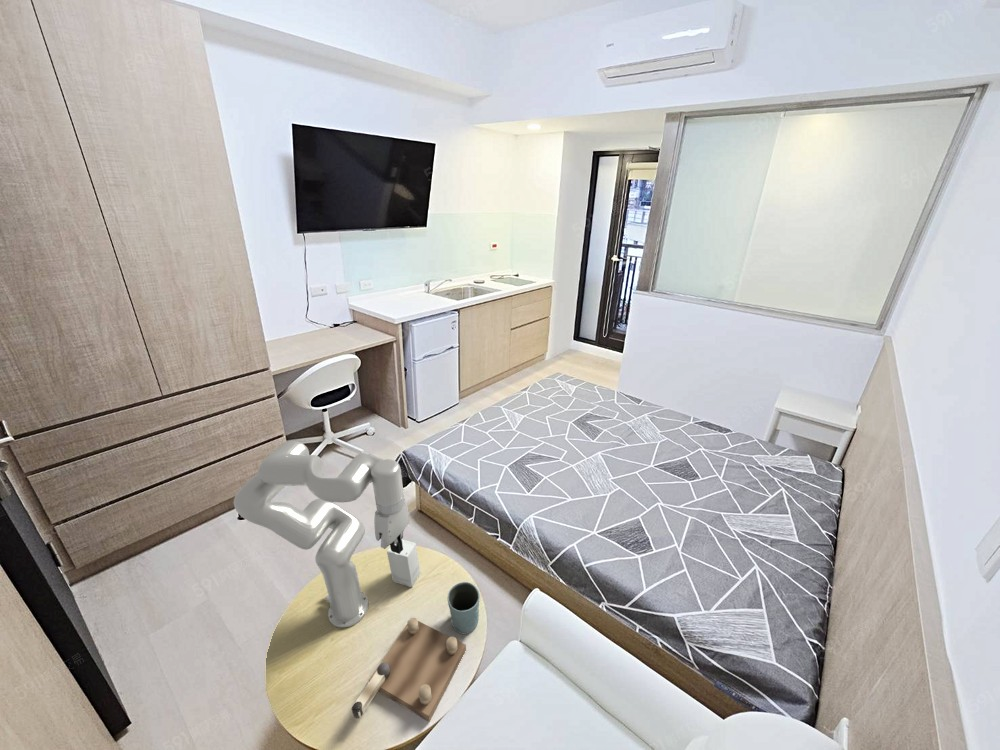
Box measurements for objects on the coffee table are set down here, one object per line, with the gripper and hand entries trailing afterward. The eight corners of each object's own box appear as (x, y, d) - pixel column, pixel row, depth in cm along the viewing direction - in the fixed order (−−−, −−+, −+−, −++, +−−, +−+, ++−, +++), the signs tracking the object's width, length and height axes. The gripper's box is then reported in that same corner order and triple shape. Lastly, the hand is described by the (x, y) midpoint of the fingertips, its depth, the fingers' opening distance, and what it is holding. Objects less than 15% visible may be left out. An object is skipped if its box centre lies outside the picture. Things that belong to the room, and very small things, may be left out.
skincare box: (420, 573, 147) (417, 542, 141) (411, 589, 142) (407, 557, 135) (400, 567, 150) (396, 536, 143) (391, 582, 144) (386, 550, 138)
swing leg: (383, 666, 116) (382, 660, 115) (392, 671, 115) (391, 665, 114) (350, 714, 105) (348, 709, 104) (359, 721, 104) (358, 715, 103)
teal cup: (475, 639, 126) (474, 614, 121) (444, 632, 128) (442, 607, 123) (483, 609, 135) (482, 584, 130) (454, 603, 137) (453, 579, 132)
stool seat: (370, 686, 114) (367, 672, 111) (412, 623, 131) (410, 610, 128) (429, 722, 107) (427, 708, 104) (466, 650, 123) (465, 637, 120)
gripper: (396, 481, 117) (402, 528, 125) (360, 516, 105) (369, 565, 113) (417, 489, 115) (422, 536, 122) (383, 525, 102) (391, 575, 110)
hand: (397, 550), depth 118 cm, fingers closed
